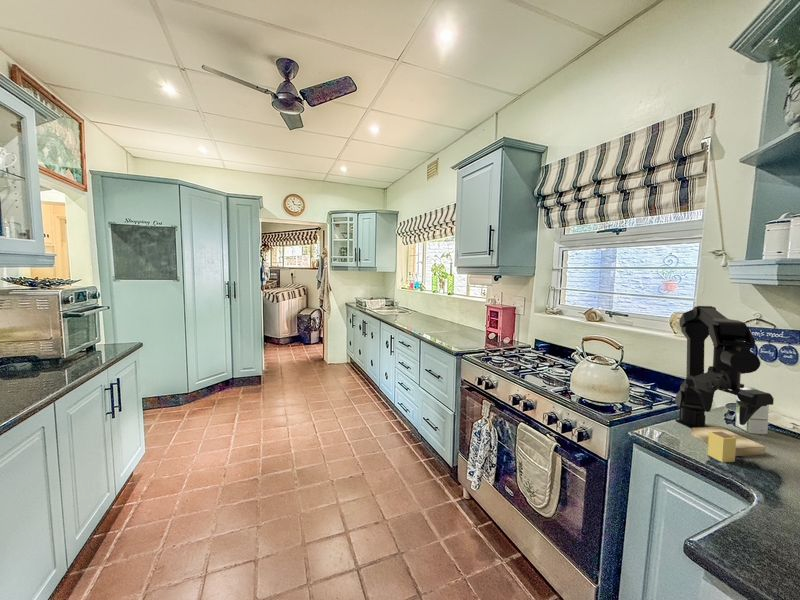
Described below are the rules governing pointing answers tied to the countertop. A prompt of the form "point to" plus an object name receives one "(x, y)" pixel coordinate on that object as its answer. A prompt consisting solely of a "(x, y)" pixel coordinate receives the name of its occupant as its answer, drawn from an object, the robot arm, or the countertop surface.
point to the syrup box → (754, 418)
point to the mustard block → (722, 446)
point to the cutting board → (742, 444)
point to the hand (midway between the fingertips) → (723, 417)
